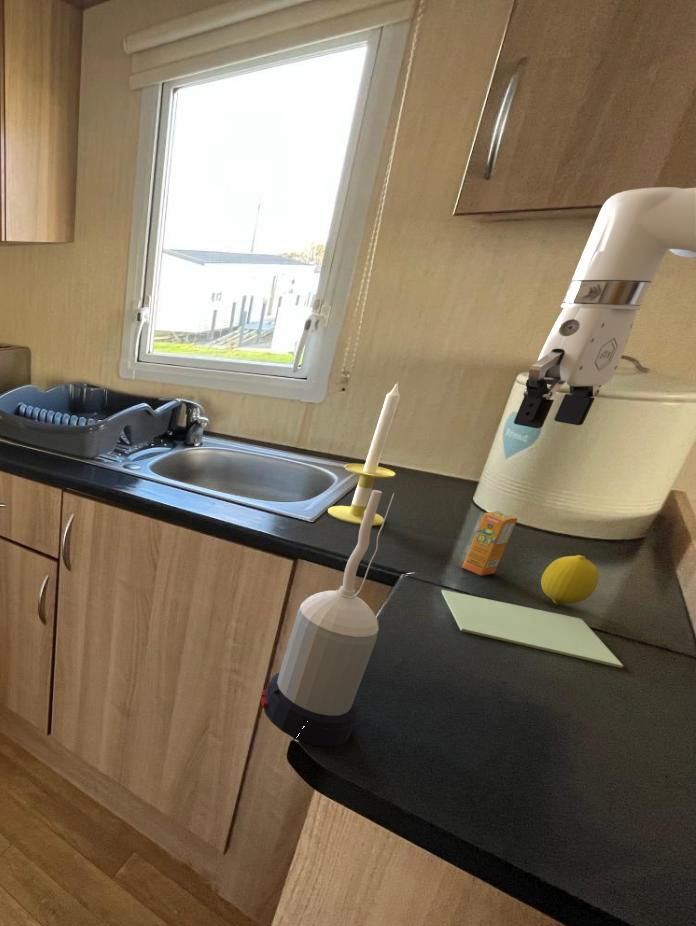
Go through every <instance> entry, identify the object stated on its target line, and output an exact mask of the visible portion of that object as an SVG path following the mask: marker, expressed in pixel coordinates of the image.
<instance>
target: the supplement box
mask: <svg viewBox="0 0 696 926" xmlns="http://www.w3.org/2000/svg"><path fill="white" fill-rule="evenodd" d="M517 521H518V517H516V516H512V515H509V514H507V513H503V512H501V511H498V510H495V511H490V512H484V514H483V516H482V518H481V520H480V523H479V525H478V527H477V530H476V532H475V534H474V537H473V540H472V542H471V544H470V547H469V549H468V552H467V554H466V556H465V558H464V561H463V564H462V566H461V568H462V569H465V570H467V571H469V572H471V573H474V574H476V575H479V576H481V577H482V576H487V575H492V574H495V572H496V571H497V568H498V565H499V563H500V561H501V558H502V555H503V553H504V551H505V549H506V546H507V544H508V542H509V539H510V538H511V535H512V532H513V530H514V528H515V526H516V524H517Z"/></svg>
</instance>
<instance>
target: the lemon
mask: <svg viewBox="0 0 696 926" xmlns="http://www.w3.org/2000/svg"><path fill="white" fill-rule="evenodd" d="M598 583H599V571H598V568H597V566H596V565H594V563H593V562H591V560H589V559H586V556H585V555H581V554H577V555H567V556H563V557H559V558H557V559H555V560H553V561H552V562H551V563H550V564H549V565H548V566H547V567H546V568H545V569H544V571H543V574H542V575H541V579H540V586H541V589H542V592H543V593H544V594H545V595H546V596H547V597H548V598H550V599H551V600H552V602H553V603H554V604H555V605H559V606H560V605H563V604H575V603H580V602H582V601H584V600H587V599H588V598H589V597H590V596H591V595H592V594H593V593H594V592H595V590H596V589H597V586H598Z"/></svg>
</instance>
